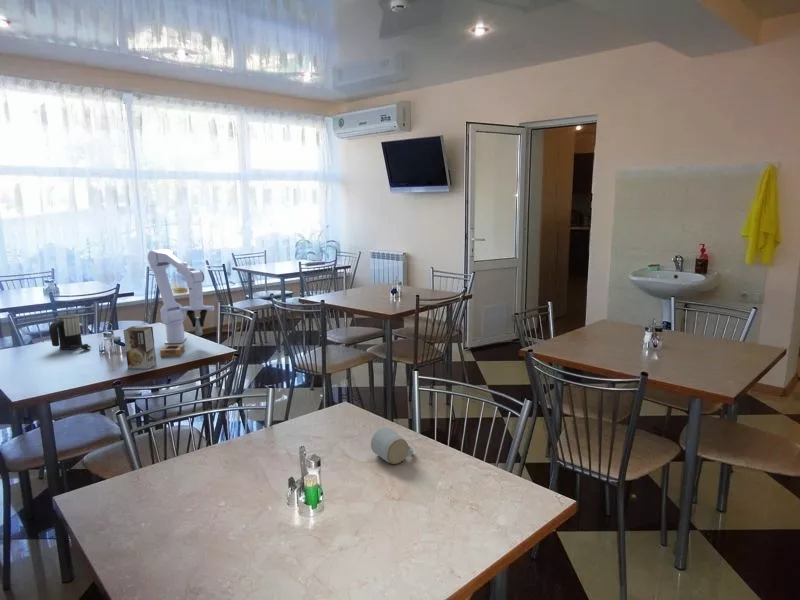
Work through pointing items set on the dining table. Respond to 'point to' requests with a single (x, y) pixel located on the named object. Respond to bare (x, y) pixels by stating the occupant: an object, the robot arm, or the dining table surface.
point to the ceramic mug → (390, 445)
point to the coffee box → (139, 347)
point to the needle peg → (198, 326)
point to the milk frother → (67, 332)
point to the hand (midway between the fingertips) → (198, 326)
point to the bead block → (172, 350)
